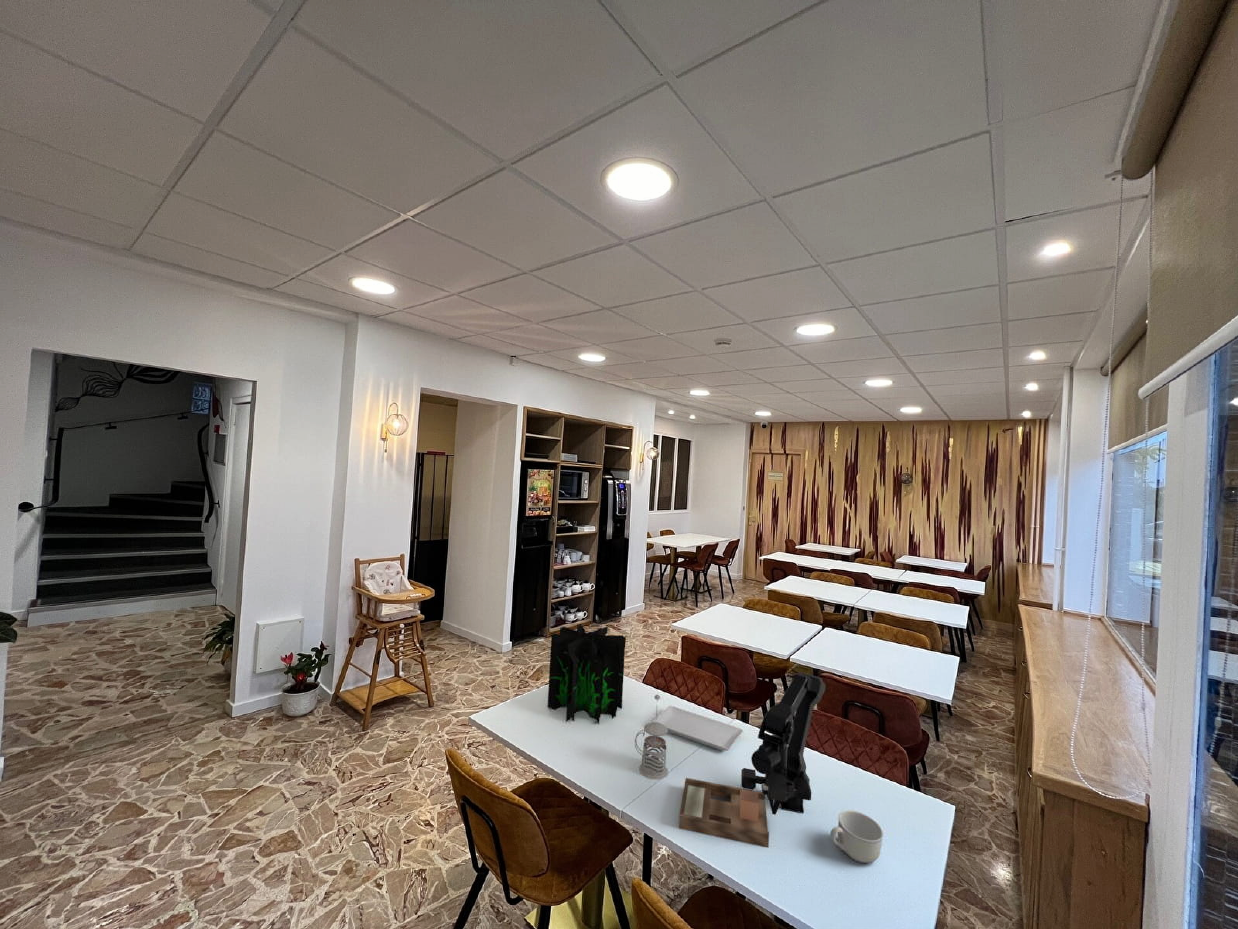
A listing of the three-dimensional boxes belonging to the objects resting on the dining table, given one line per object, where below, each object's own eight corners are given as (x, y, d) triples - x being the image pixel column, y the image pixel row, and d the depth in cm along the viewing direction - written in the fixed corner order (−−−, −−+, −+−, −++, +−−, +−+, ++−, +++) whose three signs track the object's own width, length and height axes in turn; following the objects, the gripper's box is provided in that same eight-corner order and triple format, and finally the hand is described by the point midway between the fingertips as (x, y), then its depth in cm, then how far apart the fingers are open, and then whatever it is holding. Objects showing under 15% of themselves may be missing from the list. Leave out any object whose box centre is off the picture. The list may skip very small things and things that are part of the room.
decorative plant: (579, 732, 186) (583, 652, 186) (535, 702, 208) (539, 631, 208) (633, 710, 205) (637, 638, 206) (588, 685, 227) (592, 620, 228)
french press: (666, 782, 159) (670, 703, 159) (631, 775, 161) (635, 698, 161) (669, 764, 168) (673, 690, 169) (636, 759, 171) (639, 686, 171)
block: (757, 810, 144) (758, 793, 144) (758, 821, 140) (758, 803, 140) (739, 806, 146) (740, 789, 146) (739, 818, 141) (740, 800, 141)
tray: (728, 759, 174) (728, 749, 174) (650, 730, 191) (650, 721, 191) (743, 738, 188) (744, 729, 189) (669, 713, 205) (670, 705, 205)
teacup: (868, 839, 138) (869, 810, 138) (890, 871, 127) (892, 839, 127) (818, 838, 137) (819, 809, 137) (837, 869, 126) (838, 838, 126)
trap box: (764, 804, 150) (765, 793, 150) (768, 847, 133) (769, 834, 133) (685, 789, 156) (685, 777, 156) (678, 828, 138) (679, 815, 138)
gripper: (743, 768, 135) (740, 826, 135) (815, 781, 131) (813, 841, 131) (742, 747, 146) (739, 800, 146) (809, 758, 142) (806, 813, 142)
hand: (773, 813), depth 141 cm, fingers closed
